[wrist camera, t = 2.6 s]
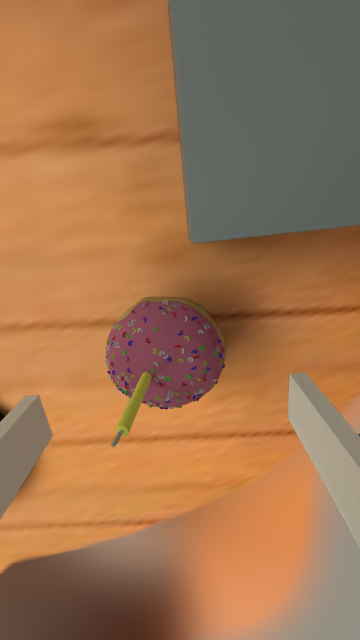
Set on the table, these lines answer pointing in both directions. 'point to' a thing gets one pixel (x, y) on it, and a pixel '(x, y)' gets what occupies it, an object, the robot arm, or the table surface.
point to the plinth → (267, 115)
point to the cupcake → (163, 355)
